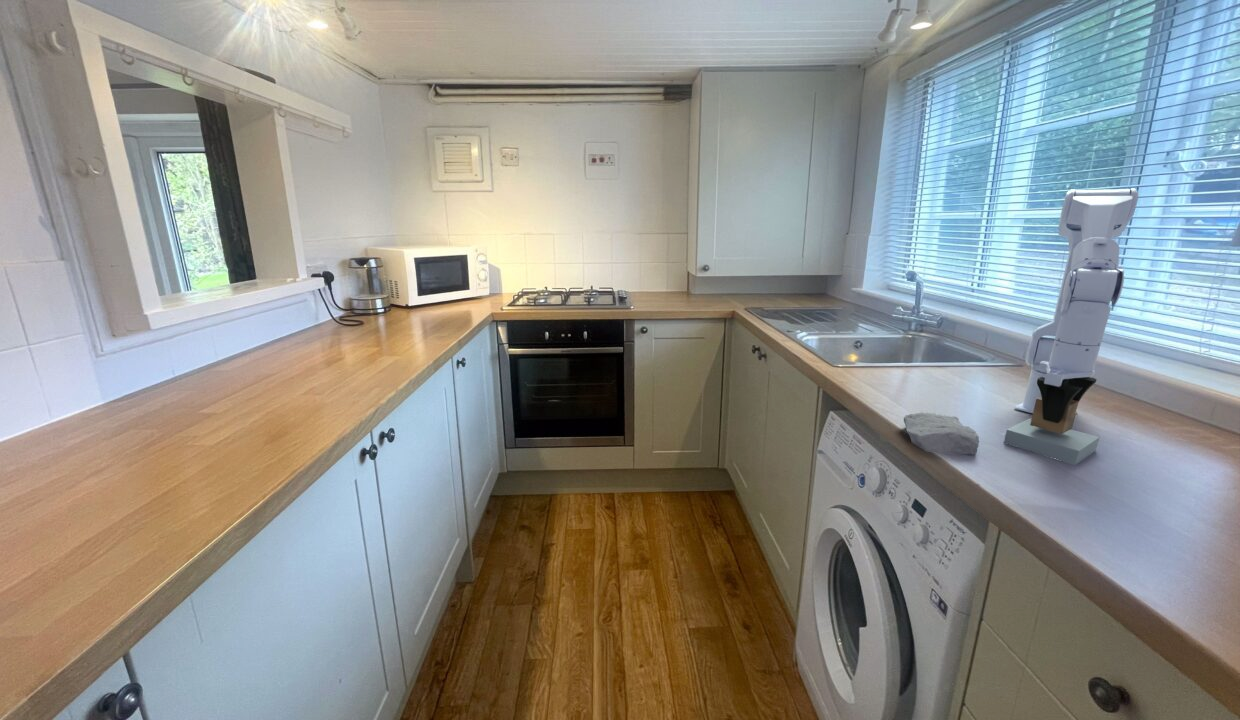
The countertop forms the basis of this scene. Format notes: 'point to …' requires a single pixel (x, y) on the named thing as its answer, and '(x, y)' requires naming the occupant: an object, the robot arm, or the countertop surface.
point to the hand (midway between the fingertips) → (1056, 417)
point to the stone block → (941, 434)
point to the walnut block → (1059, 427)
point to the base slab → (1052, 442)
